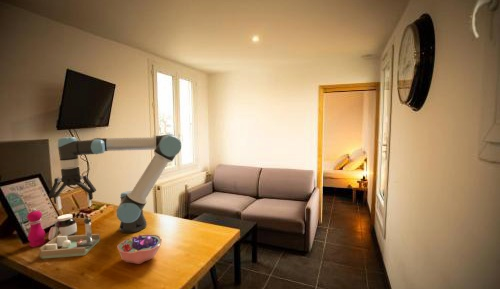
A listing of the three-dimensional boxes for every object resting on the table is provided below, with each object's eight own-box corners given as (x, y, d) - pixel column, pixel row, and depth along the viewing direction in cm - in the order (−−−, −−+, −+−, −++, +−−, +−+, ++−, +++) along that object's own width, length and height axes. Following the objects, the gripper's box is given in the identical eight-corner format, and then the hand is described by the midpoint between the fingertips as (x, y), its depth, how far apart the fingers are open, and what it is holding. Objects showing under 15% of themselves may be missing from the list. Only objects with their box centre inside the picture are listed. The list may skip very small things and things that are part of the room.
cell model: (129, 249, 121) (128, 228, 119) (168, 249, 120) (167, 228, 119) (109, 270, 104) (107, 246, 103) (153, 270, 103) (152, 246, 102)
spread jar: (79, 233, 139) (78, 214, 138) (60, 243, 128) (57, 222, 127) (64, 231, 142) (62, 212, 141) (43, 240, 131) (41, 220, 130)
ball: (72, 244, 123) (72, 238, 123) (68, 248, 120) (67, 241, 120) (65, 245, 123) (64, 238, 123) (60, 249, 119) (60, 242, 119)
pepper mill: (35, 248, 123) (31, 211, 121) (24, 246, 124) (20, 210, 122) (49, 241, 130) (46, 206, 128) (39, 240, 131) (35, 205, 129)
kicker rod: (95, 242, 125) (93, 216, 124) (91, 246, 121) (89, 219, 120) (81, 243, 124) (79, 217, 123) (76, 247, 120) (74, 220, 119)
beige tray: (100, 240, 131) (99, 231, 130) (84, 255, 116) (83, 245, 115) (61, 242, 128) (60, 233, 128) (40, 258, 113) (39, 248, 113)
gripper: (100, 164, 126) (104, 202, 129) (45, 168, 119) (50, 208, 122) (95, 166, 119) (99, 206, 121) (36, 171, 112) (41, 213, 115)
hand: (74, 207), depth 122 cm, fingers open, 13 cm apart
